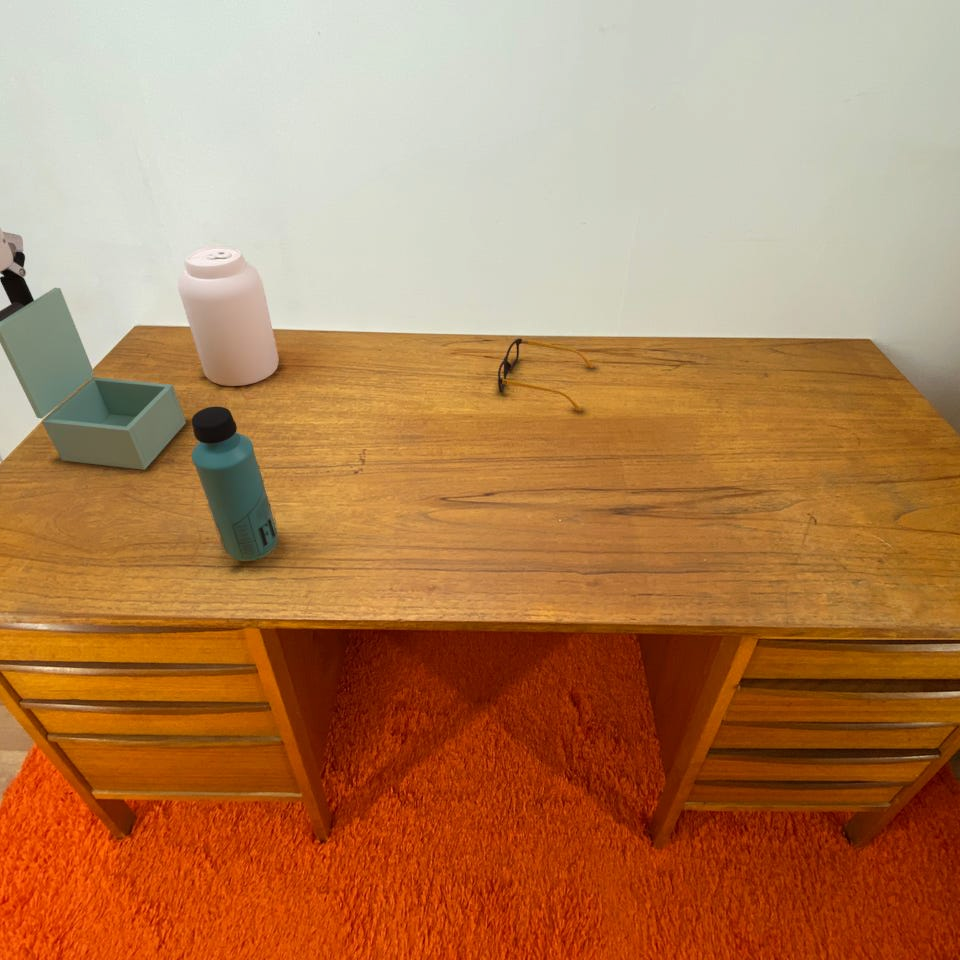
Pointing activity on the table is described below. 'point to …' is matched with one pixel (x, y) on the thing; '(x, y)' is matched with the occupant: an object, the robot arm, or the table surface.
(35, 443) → the table surface
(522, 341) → the eyeglasses
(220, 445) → the beverage bottle
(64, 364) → the lid
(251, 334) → the can
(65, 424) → the cool box
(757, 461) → the table surface
